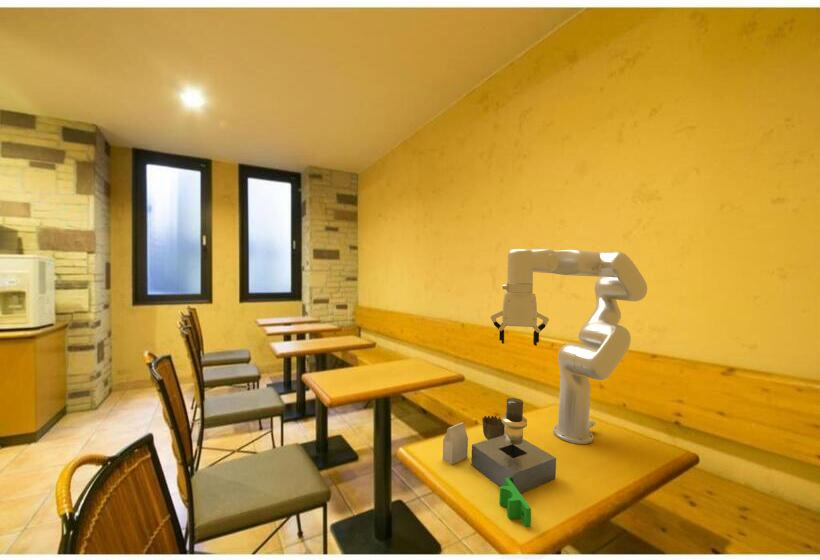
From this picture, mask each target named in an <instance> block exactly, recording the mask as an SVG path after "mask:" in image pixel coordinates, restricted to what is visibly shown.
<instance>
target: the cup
mask: <svg viewBox="0 0 820 560" xmlns="http://www.w3.org/2000/svg"><path fill="white" fill-rule="evenodd" d="M481 419H482V420H481V422H482V432H483V436H484V437H485V439H486V440H489V439H493V438H496V437H499V436H503V435H504V428H505V425H504V424H503V423H502V422H501V419H502V418H501V417H500V416H498V417H497V415H491V416H490V415H488V416H486V415H484V416H483V417H482V418H481Z"/></svg>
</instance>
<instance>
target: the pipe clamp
mask: <svg viewBox="0 0 820 560" xmlns="http://www.w3.org/2000/svg"><path fill="white" fill-rule="evenodd" d="M498 501H499V502H498V503H499V506H500V507H506V508H507V515H506V517H507V518H508V519H507V520H514V519H519V520H520V522H521V523H522V525H523V526H524V527H525V528H527V529H528V528H531V523H532V521H531V520H532V507H531V506H530V504H528V501H526V499H525V498H524V497H523V495H522V494H520V492H519V491H518V490H517V488H516V487H515V486H514V484H513V483H512V482H511V480H510V479H509V478H505V485H504V486H501V487H499V500H498Z"/></svg>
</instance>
